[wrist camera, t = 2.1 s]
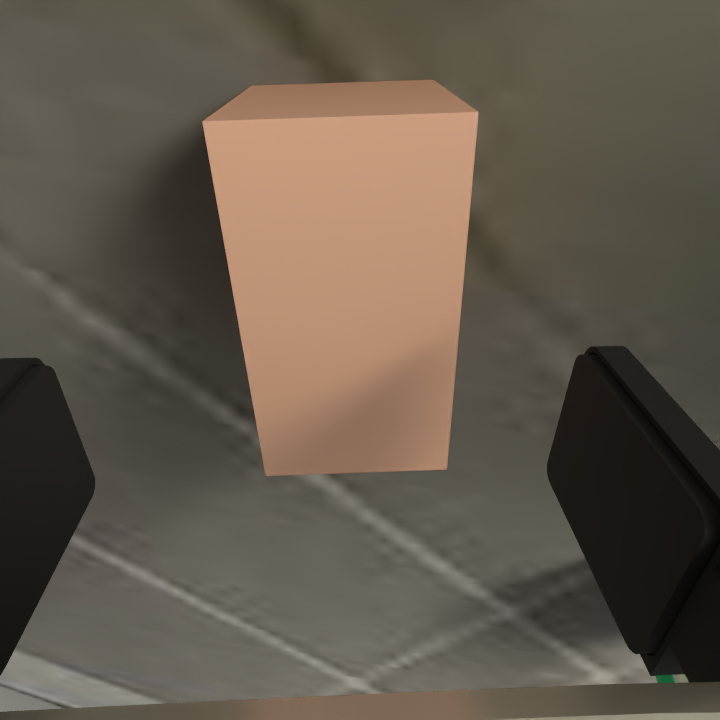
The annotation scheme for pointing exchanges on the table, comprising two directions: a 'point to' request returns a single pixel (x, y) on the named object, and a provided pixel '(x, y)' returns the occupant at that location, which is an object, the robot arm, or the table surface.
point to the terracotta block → (347, 266)
